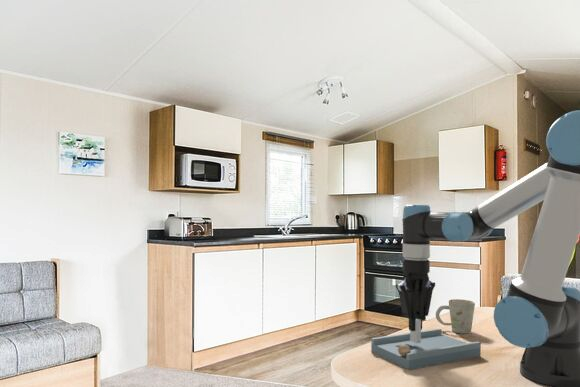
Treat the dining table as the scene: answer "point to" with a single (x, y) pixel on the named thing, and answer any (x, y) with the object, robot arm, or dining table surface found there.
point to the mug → (459, 315)
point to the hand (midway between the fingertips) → (415, 341)
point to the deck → (424, 349)
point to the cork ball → (404, 350)
